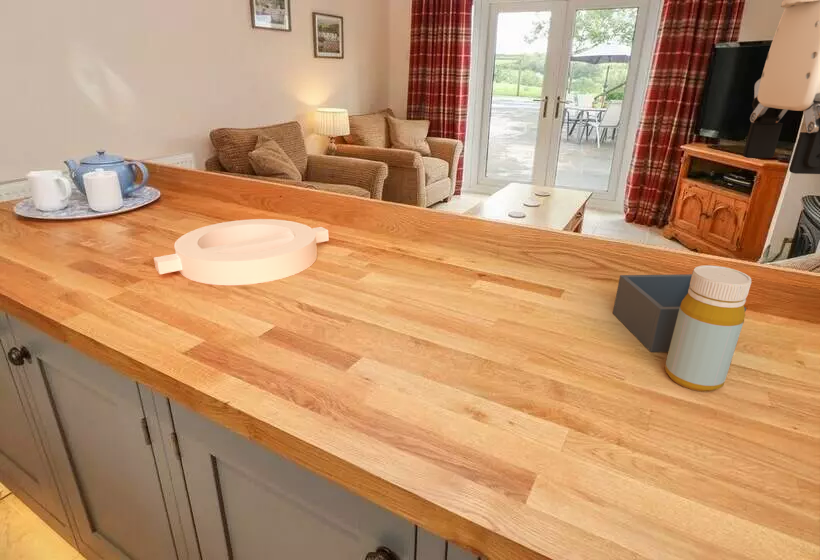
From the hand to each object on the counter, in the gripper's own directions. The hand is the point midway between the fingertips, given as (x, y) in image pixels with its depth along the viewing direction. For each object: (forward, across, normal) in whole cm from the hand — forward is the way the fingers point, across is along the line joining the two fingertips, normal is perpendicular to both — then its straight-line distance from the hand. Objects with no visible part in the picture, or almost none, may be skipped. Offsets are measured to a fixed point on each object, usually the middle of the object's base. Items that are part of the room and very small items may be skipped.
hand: (780, 164), depth 55 cm
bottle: (+28, -1, +4) cm, 29 cm away
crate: (+28, +13, +2) cm, 31 cm away
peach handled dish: (+27, +32, +80) cm, 91 cm away
